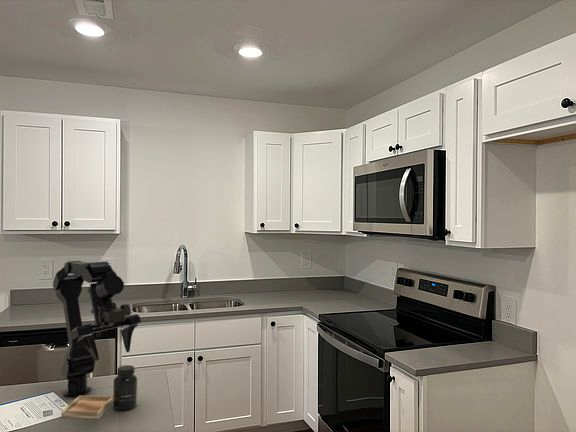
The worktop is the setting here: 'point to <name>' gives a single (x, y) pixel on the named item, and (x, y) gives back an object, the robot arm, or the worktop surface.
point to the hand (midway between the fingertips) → (113, 356)
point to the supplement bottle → (125, 389)
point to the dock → (87, 407)
